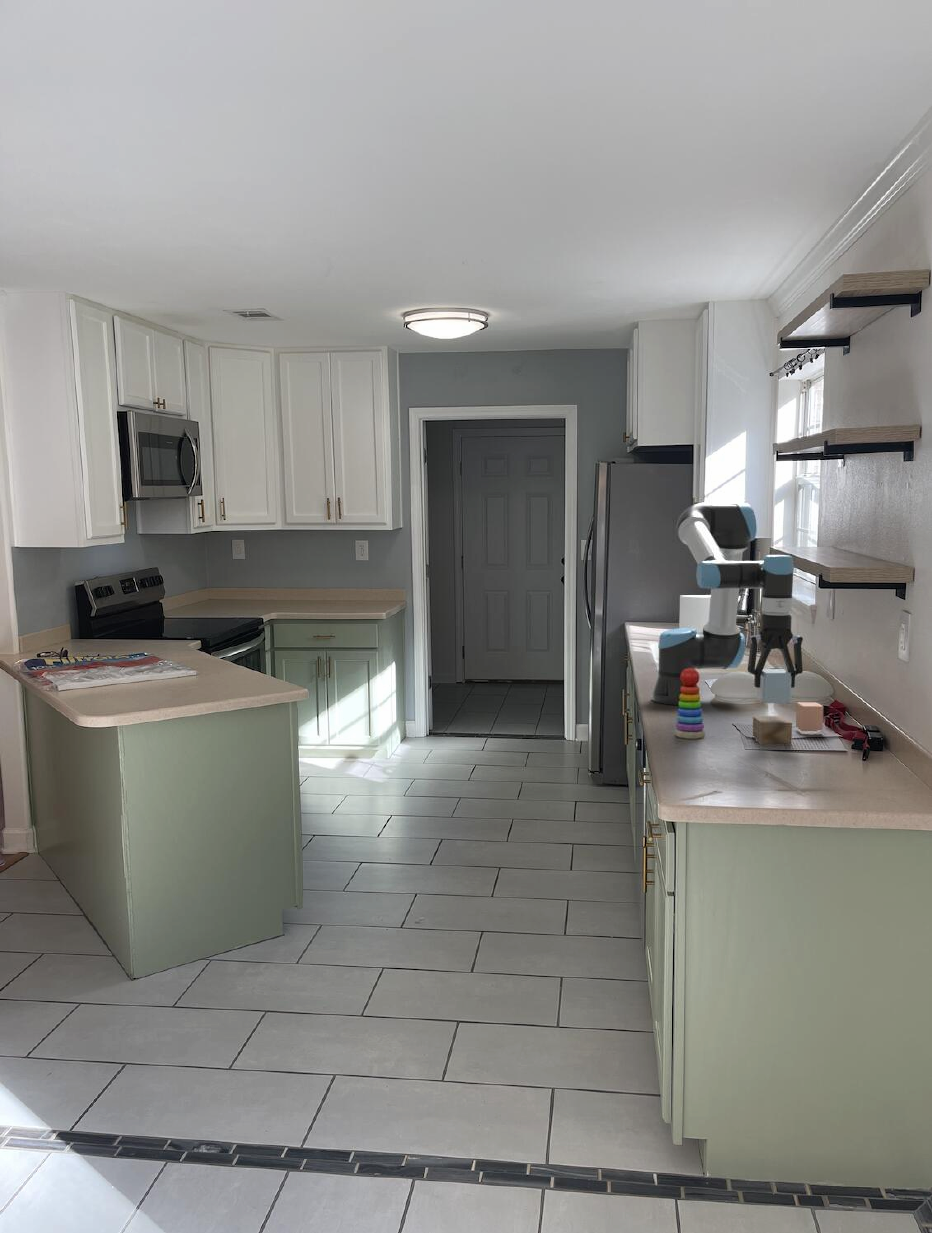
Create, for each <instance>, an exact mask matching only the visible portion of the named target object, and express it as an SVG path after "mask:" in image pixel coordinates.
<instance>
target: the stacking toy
mask: <svg viewBox="0 0 932 1233" xmlns="http://www.w3.org/2000/svg"><path fill="white" fill-rule="evenodd" d="M680 678H681V682H682V683H683V684H684V686H682V687H681V689H680V690H681V692H682V694H680V696H679V698H680V701H679V705H678V709H677V713H678V714H677V716H676V720H677V722H676V723H675V727H676V729H675V730H674V734H675V735H676V737H678V738H682V739H688V740H691V739H692V740H696V739H700V738H703V737H704V736H705V735H706V732H705V730H704V728H705V724H704V723H703V721H704V716H703V715H702V714H703V709H702V708H701V706H702V702H701V694H700V695H699V694H698V692H699V693H700V687H699V686H698V683H699V681H700V673H699V671H697V670H696V669H692V668H687V669H685V670H683V671H682V673H681V676H680ZM696 684H697V686H695V685H696ZM699 699H700V701H698V700H699Z"/></svg>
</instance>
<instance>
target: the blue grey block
mask: <svg viewBox="0 0 932 1233" xmlns="http://www.w3.org/2000/svg"><path fill="white" fill-rule="evenodd" d="M761 675H762V676H764V690H763V701H762V702H763V703H764V704H790V702H791V701H790V683H791V673H790V672H788V670H787V669H783V668H769V669H768V668H763V671H762V673H761Z"/></svg>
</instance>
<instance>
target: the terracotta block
mask: <svg viewBox="0 0 932 1233" xmlns="http://www.w3.org/2000/svg"><path fill="white" fill-rule="evenodd" d="M795 716H796V717H795V728H796V727H798V729H800V730H801V731H817V730H822V731H823V729H824V728H823V727H824V726H823V724H824V705H822V704H820V703H818V702H804V701H803V702H799V701H797V702H796V715H795Z"/></svg>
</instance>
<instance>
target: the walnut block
mask: <svg viewBox="0 0 932 1233" xmlns="http://www.w3.org/2000/svg"><path fill="white" fill-rule="evenodd" d="M792 730H793V722H791V721H790V720H789V719H787V718H786V717H785V716H777V715H775V716H774V715H772V716H771V715H770V716H769V715H767V716H766V715H764V716H762V715H758V716H752V737H753V736H754V737H755V738H756V739H757V740H758V741H759V742H760V743H759V742H758V743H759V744H760V745H777V744H791V745H792V742H793V741H792V739H793V738H792V736H793V731H792ZM777 746H778V745H777Z"/></svg>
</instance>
